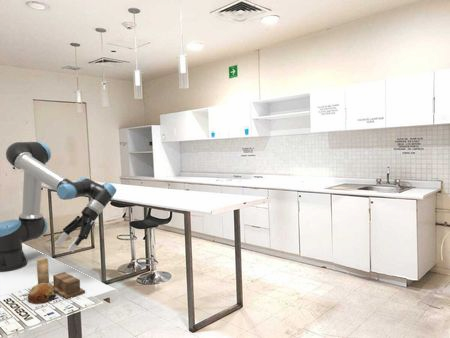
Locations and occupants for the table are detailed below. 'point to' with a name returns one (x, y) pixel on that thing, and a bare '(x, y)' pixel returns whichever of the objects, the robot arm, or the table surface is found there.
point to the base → (67, 285)
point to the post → (42, 270)
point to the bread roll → (41, 293)
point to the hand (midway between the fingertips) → (63, 247)
